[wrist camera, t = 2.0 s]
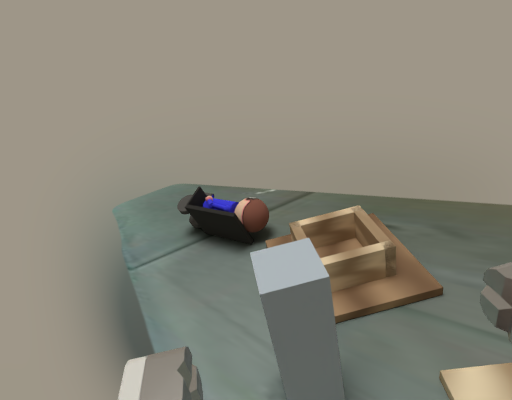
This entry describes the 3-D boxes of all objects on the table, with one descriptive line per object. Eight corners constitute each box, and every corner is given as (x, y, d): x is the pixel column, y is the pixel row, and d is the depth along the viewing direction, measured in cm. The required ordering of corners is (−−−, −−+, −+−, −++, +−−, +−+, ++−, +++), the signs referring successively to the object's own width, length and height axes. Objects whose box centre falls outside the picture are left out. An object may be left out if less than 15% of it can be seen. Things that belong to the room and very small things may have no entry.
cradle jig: (373, 219, 50) (372, 188, 48) (442, 294, 36) (445, 256, 34) (266, 246, 49) (260, 217, 47) (294, 334, 35) (286, 298, 33)
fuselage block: (327, 360, 32) (309, 237, 26) (346, 407, 28) (329, 276, 22) (281, 372, 32) (250, 252, 25) (292, 422, 28) (259, 294, 21)
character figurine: (207, 216, 61) (278, 233, 53) (177, 237, 56) (250, 259, 48) (197, 176, 58) (272, 186, 49) (164, 193, 53) (241, 208, 44)
